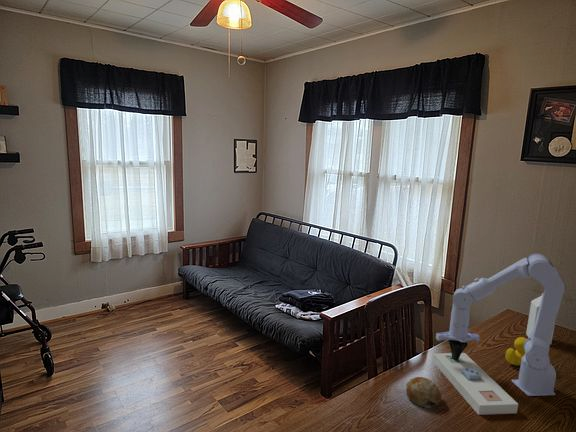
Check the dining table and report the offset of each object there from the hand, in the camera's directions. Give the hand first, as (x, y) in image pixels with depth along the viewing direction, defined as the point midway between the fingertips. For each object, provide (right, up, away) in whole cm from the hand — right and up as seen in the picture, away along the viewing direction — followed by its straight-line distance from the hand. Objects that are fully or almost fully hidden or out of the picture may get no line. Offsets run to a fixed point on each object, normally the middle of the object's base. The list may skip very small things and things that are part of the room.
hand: (455, 358), depth 132 cm
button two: (0, -3, 0) cm, 3 cm away
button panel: (+1, -5, -9) cm, 10 cm away
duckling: (+25, -4, +4) cm, 25 cm away
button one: (+2, -6, -19) cm, 20 cm away
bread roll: (-18, -6, -16) cm, 25 cm away
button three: (+1, -3, -10) cm, 10 cm away
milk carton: (+45, -1, +23) cm, 50 cm away
